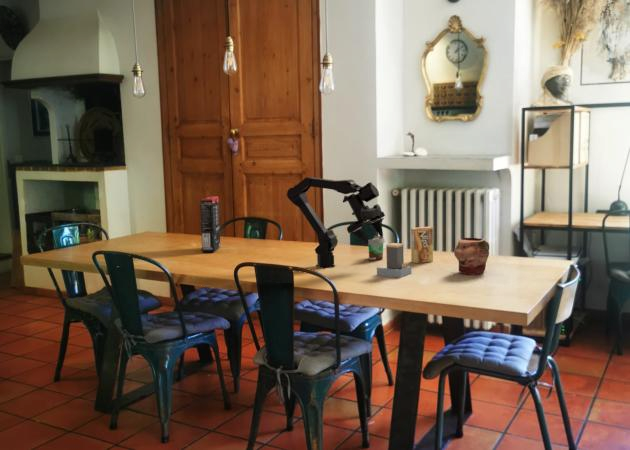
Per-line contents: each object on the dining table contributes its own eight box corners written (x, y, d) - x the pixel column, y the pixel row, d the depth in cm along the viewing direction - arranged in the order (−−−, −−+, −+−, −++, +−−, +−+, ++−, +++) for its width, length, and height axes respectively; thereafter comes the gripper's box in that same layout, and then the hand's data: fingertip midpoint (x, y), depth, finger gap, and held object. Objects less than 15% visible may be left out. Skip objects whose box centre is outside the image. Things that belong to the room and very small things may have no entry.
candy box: (429, 260, 296) (429, 226, 294) (433, 261, 292) (433, 227, 290) (411, 261, 294) (410, 227, 292) (414, 263, 290) (414, 228, 288)
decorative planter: (473, 266, 281) (473, 233, 279) (499, 269, 272) (499, 236, 270) (446, 274, 267) (446, 240, 265) (473, 278, 258) (473, 243, 256)
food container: (381, 262, 295) (381, 240, 294) (368, 261, 297) (367, 239, 296) (387, 257, 307) (387, 235, 305) (374, 256, 309) (374, 235, 307)
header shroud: (377, 275, 270) (376, 263, 269) (388, 270, 277) (387, 259, 276) (400, 277, 263) (400, 265, 263) (411, 273, 271) (411, 261, 270)
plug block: (387, 275, 269) (386, 244, 268) (393, 272, 273) (392, 242, 272) (397, 276, 266) (397, 245, 265) (403, 273, 270) (403, 243, 269)
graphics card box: (208, 247, 350) (205, 196, 346) (221, 247, 350) (218, 195, 346) (201, 253, 333) (198, 199, 329) (215, 253, 333) (212, 199, 329)
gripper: (354, 206, 268) (372, 241, 267) (384, 193, 279) (401, 226, 278) (339, 216, 276) (355, 249, 275) (368, 203, 288) (384, 235, 287)
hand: (375, 240), depth 279 cm, fingers open, 9 cm apart
